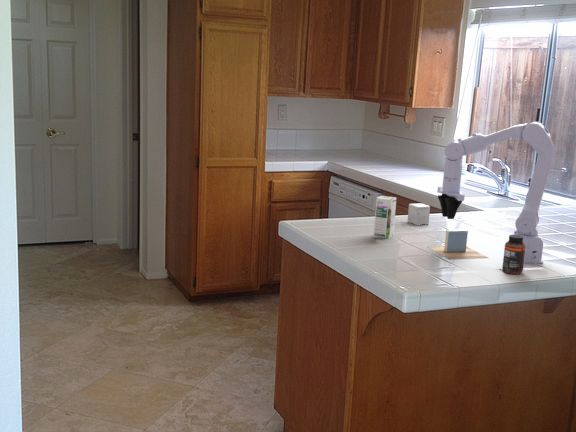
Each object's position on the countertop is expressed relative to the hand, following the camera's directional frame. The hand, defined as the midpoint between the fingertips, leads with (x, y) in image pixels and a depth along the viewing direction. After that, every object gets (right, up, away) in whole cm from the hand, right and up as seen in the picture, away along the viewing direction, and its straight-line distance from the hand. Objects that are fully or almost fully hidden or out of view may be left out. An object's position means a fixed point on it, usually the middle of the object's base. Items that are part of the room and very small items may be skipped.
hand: (448, 217), depth 224 cm
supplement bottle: (+14, -17, -22) cm, 31 cm away
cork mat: (+2, -12, -5) cm, 13 cm away
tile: (+1, -11, -4) cm, 12 cm away
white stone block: (-3, -2, +37) cm, 37 cm away
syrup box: (-20, -7, +12) cm, 25 cm away
